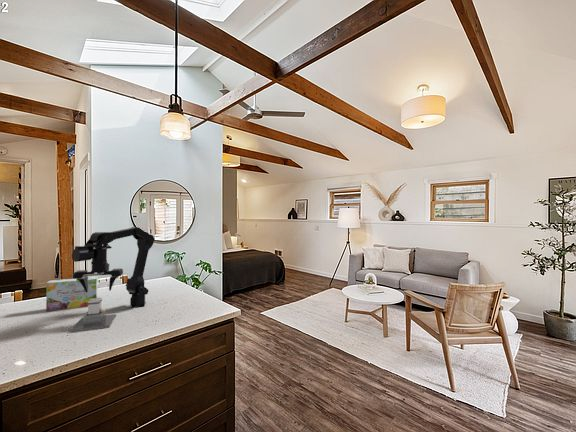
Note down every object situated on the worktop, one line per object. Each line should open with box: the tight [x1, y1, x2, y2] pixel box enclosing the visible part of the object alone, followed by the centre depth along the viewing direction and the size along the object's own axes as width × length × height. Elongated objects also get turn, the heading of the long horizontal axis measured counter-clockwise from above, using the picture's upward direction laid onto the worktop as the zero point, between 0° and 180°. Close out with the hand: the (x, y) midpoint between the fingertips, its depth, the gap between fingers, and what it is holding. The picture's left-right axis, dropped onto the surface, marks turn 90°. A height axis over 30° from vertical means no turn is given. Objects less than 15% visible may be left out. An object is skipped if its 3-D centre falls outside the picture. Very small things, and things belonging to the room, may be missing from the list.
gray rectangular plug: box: [87, 297, 103, 315], centre depth 120 cm, size 4×4×10 cm
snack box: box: [45, 276, 99, 312], centre depth 141 cm, size 21×6×15 cm, turn 117°
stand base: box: [69, 308, 117, 333], centre depth 120 cm, size 14×14×6 cm
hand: (98, 291), depth 125 cm, fingers open, 9 cm apart
